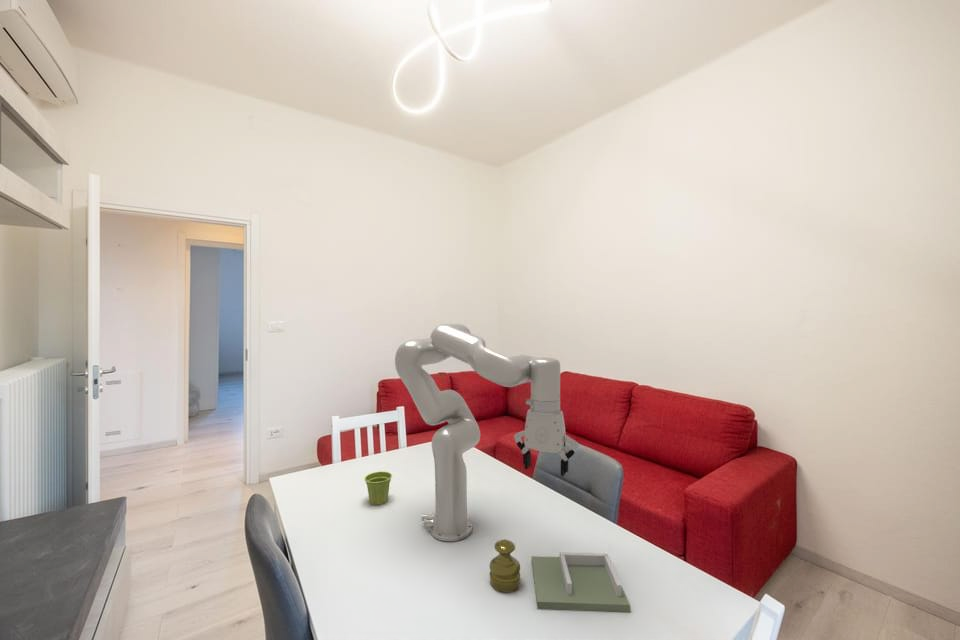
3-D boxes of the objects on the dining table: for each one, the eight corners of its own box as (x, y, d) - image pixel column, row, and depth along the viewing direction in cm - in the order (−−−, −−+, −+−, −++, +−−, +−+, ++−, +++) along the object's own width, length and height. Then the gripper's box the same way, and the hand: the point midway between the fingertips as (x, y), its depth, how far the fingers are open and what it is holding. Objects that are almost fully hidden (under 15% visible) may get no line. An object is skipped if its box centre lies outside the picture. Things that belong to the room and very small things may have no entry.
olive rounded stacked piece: (511, 597, 87) (511, 554, 87) (483, 585, 91) (483, 544, 91) (525, 579, 93) (525, 538, 93) (499, 568, 97) (498, 529, 97)
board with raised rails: (537, 608, 84) (537, 590, 84) (531, 562, 100) (531, 546, 100) (630, 611, 83) (629, 593, 83) (609, 564, 99) (609, 548, 99)
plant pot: (358, 505, 131) (358, 479, 131) (376, 493, 140) (375, 469, 140) (381, 510, 128) (381, 484, 127) (397, 497, 136) (397, 473, 136)
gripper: (509, 405, 100) (509, 470, 100) (575, 412, 92) (575, 483, 92) (519, 399, 107) (519, 460, 107) (582, 406, 99) (581, 471, 99)
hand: (545, 470), depth 100 cm, fingers open, 9 cm apart
